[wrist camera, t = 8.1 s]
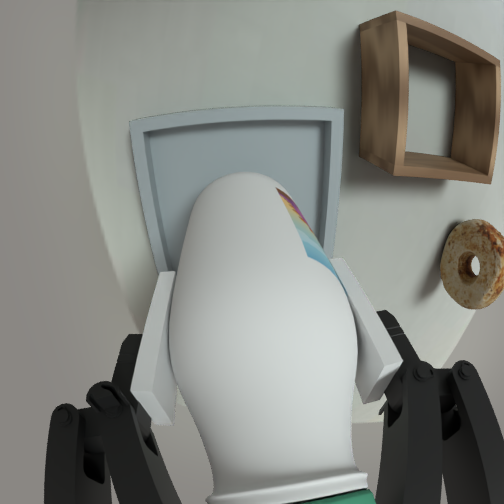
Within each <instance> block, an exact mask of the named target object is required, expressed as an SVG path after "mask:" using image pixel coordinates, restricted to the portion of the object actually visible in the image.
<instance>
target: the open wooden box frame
mask: <svg viewBox="0 0 504 504" xmlns="http://www.w3.org/2000/svg"><path fill="white" fill-rule="evenodd" d="M360 40H361V67H362V104H361V133H360V150H359V157H361V158H363V159H365V160H367V161H369V162H370V163H372V164H374V165H376V166H378V167H379V168H381V169H383V170H385V171H386V172H388V173H390V174H391V175H393V176H408V177H424V178H437V179H448V180H458V181H467V182H476V183H484V184H491V181H492V176H493V170H494V164H495V158H496V151H497V143H498V134H499V123H500V105H501V73H500V60H498V59H497V58H495V57H494V56H492V55H490V54H489V53H487V52H486V51H484V50H482V49H480V48H479V47H477V46H475V45H473V44H472V43H470V42H468V41H466V40H464V39H462V38H460V37H458V36H456V35H454V34H452V33H450V32H448V31H446V30H444V29H442V28H439V27H437V26H435V25H433V24H430V23H428V22H425V21H423V20H420V19H418V18H415V17H413V16H410V15H407V14H404V13H401V12H398V11H393V12H390V13H388V14H385V15H382V16H379V17H377V18H374V19H372V20H369V21H367V22H364V23H362V24H360ZM408 45H411V46H414V47H417V48H420V49H423V50H426V51H429V52H431V53H434V54H437V55H439V56H442V57H444V58H447V59H449V60H451V61H454V62H455V68H456V97H455V118H454V130H453V141H452V149H451V157H444V156H437V155H430V154H422V153H414V152H405V146H406V134H407V120H408V96H409V65H408Z"/></svg>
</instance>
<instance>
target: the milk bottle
mask: <svg viewBox="0 0 504 504" xmlns="http://www.w3.org/2000/svg"><path fill="white" fill-rule="evenodd" d="M169 350H170V357H171V364H172V368H173V372H174V376H175V379H176V382H177V385H178V387H179V390H180V392H181V394H182V397H183V399H184V401H185V403H186V405H187V407H188V409H189V411H190V413H191V415H192V417H193V419H194V422H195V424H196V426H197V428H198V431H199V433H200V436H201V438H202V441H203V444H204V447H205V450H206V452H207V456H208V459H209V462H210V465H211V469H212V474H213V481H214V489H213V493H212V495H211V496H208V497H207V498H206V502H207V503H208V504H376V502H375V499H374V496H373V493H372V492H371V491H370V490H369V489H368V490H366V489H367V488H368V484H367V480H366V478H367V476H368V474H367V473H366V472H362V471H359V470H358V468H357V466H356V464H355V461H354V457H353V452H352V439H351V416H352V401H353V392H354V384H355V377H356V369H357V355H358V347H357V334H356V328H355V322H354V317H353V314H352V311H351V308H350V304H349V301H348V299H347V296H346V294H345V292H344V289H343V287H342V285H341V283H340V281H339V279H338V277H337V275H336V273H335V271H334V269H333V267H332V265H331V263H330V261H329V260H328V258H327V256H326V254H325V252H324V251H323V249H322V247H321V245H320V243H319V242H318V240H317V238H316V236H315V235H314V233H313V231H312V230H311V228H310V226H309V225H308V223H307V221H306V220H305V218H304V216H303V215H302V213H301V212H300V210H299V208H298V207H297V205H296V204H295V202H294V200H293V199H292V197H291V196H290V195H289V193H288V192H287V191H286V190H285V188H284V187H283V186H282V185H280V184H279V183H278V182H277V181H275V180H274V179H272V178H270V177H268V176H265V175H263V174H259V173H255V172H236V173H231V174H227V175H225V176H222V177H220V178H218V179H216V180H215V181H213V182H212V183H210V184H209V185H208V186H207V187H206V188H205V189H204V190H203V191H202V192H201V193H200V195H199V196H198V198H197V200H196V202H195V204H194V206H193V209H192V212H191V215H190V219H189V223H188V227H187V231H186V235H185V239H184V243H183V248H182V252H181V257H180V261H179V266H178V271H177V276H176V281H175V286H174V291H173V297H172V305H171V312H170V321H169Z"/></svg>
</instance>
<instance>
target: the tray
mask: <svg viewBox="0 0 504 504" xmlns="http://www.w3.org/2000/svg"><path fill="white" fill-rule="evenodd" d="M129 125H130V134H131V141H132V148H133V155H134V162H135V168H136V174H137V180H138V186H139V191H140V197H141V202H142V207H143V212H144V217H145V221H146V226H147V230H148V235H149V239H150V243H151V248H152V252H153V256H154V260H155V264H156V268H157V272H158V275H159V274H160V272H167V271H175V272H176V276H177V271H178V266H179V261H180V257H181V252H182V248H183V243H184V239H185V235H186V231H187V227H188V223H189V219H190V215H191V212H192V209H193V206H194V204H195V202H196V200H197V198H198V196H199V195H200V193H201V192H202V191H203V190H204V189H205V188H206V187H207V186H208V185H209V184H210V183H212V182H213V181H215V180H216V179H218V178H220V177H222V176H225V175H227V174H231V173H236V172H255V173H259V174H263V175H265V176H268V177H270V178H272V179H274V180H275V181H277V182H278V183H279V184H280V185H282V186H283V187H284V188H285V190H286V191H287V192H288V193H289V195H290V196H291V197H292V199H293V200H294V202H295V204H296V205H297V207H298V208H299V210H300V212H301V213H302V215H303V216H304V218H305V220H306V221H307V223H308V225H309V226H310V228H311V230H312V231H313V233H314V235H315V236H316V238H317V240H318V242H319V243H320V245H321V247H322V249H323V251H324V252H325V254H326V256H327V258H328V260H329V259H332V257H333V250H334V242H335V234H336V225H337V215H338V205H339V194H340V182H341V168H342V151H343V128H344V109H340V108H333V107H317V106H242V107H225V108H212V109H202V110H193V111H184V112H177V113H170V114H163V115H157V116H151V117H145V118H140V119H136V120H132V121H129Z"/></svg>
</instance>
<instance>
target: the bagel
mask: <svg viewBox="0 0 504 504" xmlns="http://www.w3.org/2000/svg"><path fill="white" fill-rule="evenodd" d="M475 256H476V257H477V258H478V260H479V263H480V271H479V275H477V276H476V275H475V274H474V273H473V271H472V267H471V263H472V259H473V258H474V257H475ZM440 271H441V279H442V281H443V285H444V288H445V290H446V291H447V293H448V294H449V295H450V296H451V297H452V298H453V299H454V300H455V301H456V302H457V303H458V304H459V305H461V306H462V307H464V308H468V309H482V308H484V307H487V306H489V305H490V304H491V303H493V302H494V301H495V300H496V299H497V298H498V296H499V295H500V294H501V293H502V291H503V289H504V237H503V236H502V235H501V233H500V232H498V231H497V230H496V229H495V228H494V227H493V226H492V225H491V224H490V223H488V222H486V221H484V220H479V219H473V220H468V221H464V222H462V223H460V224H459V225H457V226H456V227H455V228H454V229H453V230H452V232H451V233H450V234H449V236H448V239H447V241H446V244H445V247H444V250H443V254H442V258H441V263H440Z"/></svg>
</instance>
